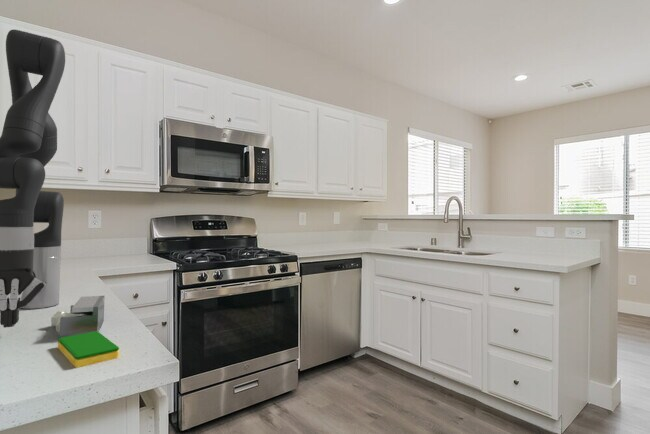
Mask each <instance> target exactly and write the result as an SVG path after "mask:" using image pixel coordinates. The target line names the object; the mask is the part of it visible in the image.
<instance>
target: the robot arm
mask: <svg viewBox="0 0 650 434" xmlns="http://www.w3.org/2000/svg"><path fill="white" fill-rule="evenodd" d="M5 53H6V63H7V69H8V77H9V84H10V93H11V102H12V104H11V105H10V107H9V108H8V110H7V111H6V115H5V119H4V123H3V127H2V132H1V136H0V189H9V190H10V189H11V190H15V196H14V197H11V198H4V199H0V325H1V326H3V328H13V327H14V326H15V325H16V324H17V323H19V321H20V320H19V319H20V316H19V315H20V309H27V310H28V309H29V310H30V309H43V308H49V307H53V306H57V305H58V304H60V288H61V287H60V285H61V284H60V283H61V262H62V260H61V258H62V254H61V253H62V228H63V227H62V226H63V217H64V207H65V205H64V204H65V203H64V197H63V194H62V193H61V192H58V191H47V190H42V189H43V188H42V187H43V185H44V183H45V179H46V170H45V167H46V166H47V164H49V163H50V162H51V160H52V159H53V158H54V156H55V155H56V153H57V151H58V128H57V124H56V122H55V121H54V119H53V118H52V116H51V115H50V113H49V110H50V108H51V106H52V103H53V101H54V99H55V96H56V93H57V90H58V88H59V85H60V83H61V80H62V78H63V74H64V72H65V66H66V52H65V48H64V45H63V44H62V43H61V41H59V40H58V39H54V38H52V37H48V36H44V35H39V34H36V33H35V34H34V33H31V32H28V31H23V30H18V29H10V30H9V31H8V32H7V34H6V39H5ZM29 74H34V75H38V76H42V77H41V78H40V80H39V82H38V83H36V85H34V87H32V83H31V82H30V78H29ZM35 223H39V224H40V223H41V224H43V223H45V224H46V223H48V225H47V227H46V228H44V229H43V230H41V231H38V232H35V231H34V224H35Z"/></svg>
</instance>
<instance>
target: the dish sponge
mask: <svg viewBox="0 0 650 434" xmlns="http://www.w3.org/2000/svg"><path fill="white" fill-rule="evenodd" d="M57 340H58V342H57V349H59V351H60V352H61V353H62V354H63V355H64V357H66V358H67V360H68V361H69V362H70V364H71V365H73V367H74V368H83V367H86V366H90V365H95V364H99V363H103V362H107V361H111V360H116V359H118V358H119V357H120V356H119V355H120V351H119V350H120V347H119V346H118V345H117V344H115V343H113V341H111V340H110V339H109V338H108V337H106V336H105V335H103V334H102V333H100V331H99V332H97V331H95V332H89V333H84V334H78V335H73V336H67V337H61V338H60V337H59V338H58V339H57Z"/></svg>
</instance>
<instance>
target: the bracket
mask: <svg viewBox="0 0 650 434" xmlns="http://www.w3.org/2000/svg"><path fill="white" fill-rule="evenodd" d="M69 313H73V314H87V315H82V316H68V317H61V318H60V334H59V338H61V337H67V336H73V335H78V334H84V333H89V332H95V331H97V332H99V333H100V330H101V328H102V325H103V323H104V321H105V295H92V296H91V295H89V296H81V297H80V298H79V299H78V300H77V301H76V302H75V304H73V305H72V304H71V305H70V312H69Z"/></svg>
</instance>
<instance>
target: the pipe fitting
mask: <svg viewBox="0 0 650 434" xmlns="http://www.w3.org/2000/svg"><path fill="white" fill-rule="evenodd" d="M82 315H87V314H73V313H70V312H66V311H65V312H64V311H60V310H59V311H56V312H55V313H54V314H53V315H52V316H51V320H50V323H51V326H52V327H55V330H56V333H58V334H59V335H60V318H61V317H68V316H82Z"/></svg>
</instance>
